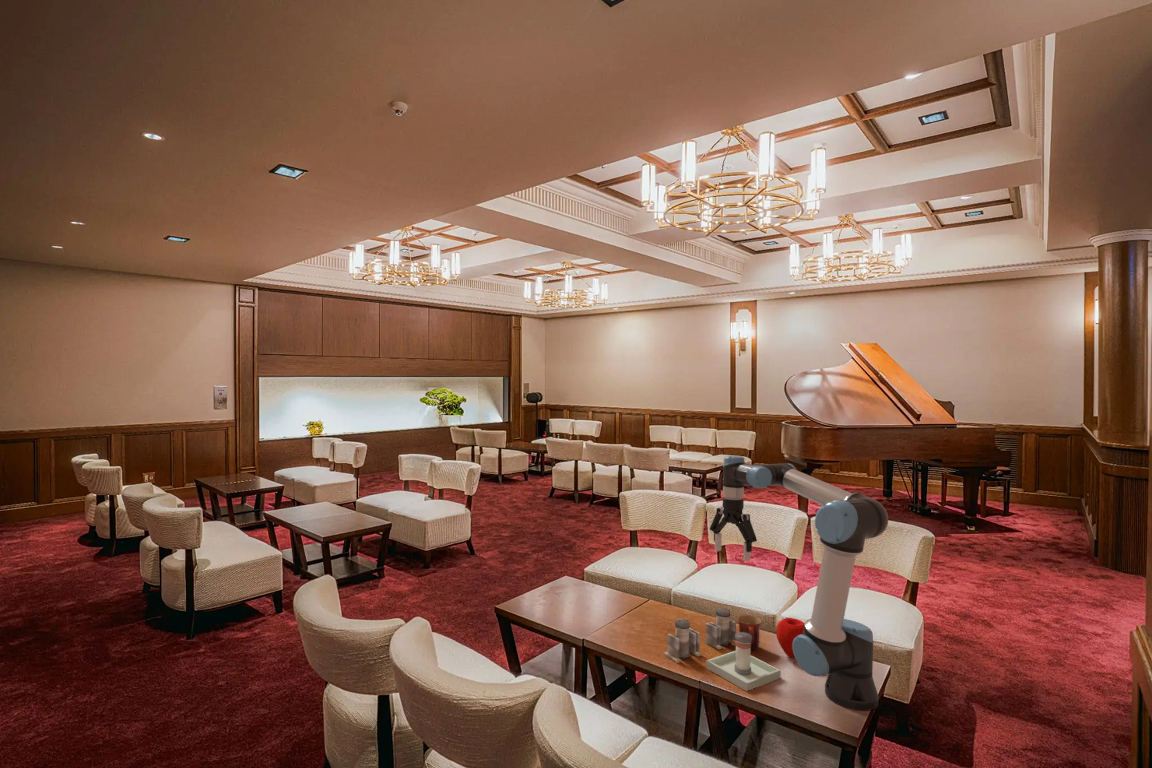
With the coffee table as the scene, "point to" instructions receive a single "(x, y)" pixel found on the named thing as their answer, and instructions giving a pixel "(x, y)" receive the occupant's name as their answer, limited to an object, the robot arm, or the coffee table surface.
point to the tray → (758, 676)
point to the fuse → (743, 653)
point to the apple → (789, 634)
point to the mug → (750, 628)
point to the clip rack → (690, 638)
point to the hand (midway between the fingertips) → (731, 555)
